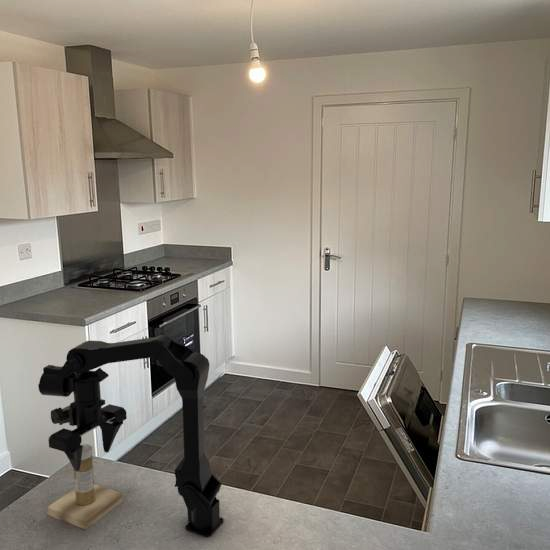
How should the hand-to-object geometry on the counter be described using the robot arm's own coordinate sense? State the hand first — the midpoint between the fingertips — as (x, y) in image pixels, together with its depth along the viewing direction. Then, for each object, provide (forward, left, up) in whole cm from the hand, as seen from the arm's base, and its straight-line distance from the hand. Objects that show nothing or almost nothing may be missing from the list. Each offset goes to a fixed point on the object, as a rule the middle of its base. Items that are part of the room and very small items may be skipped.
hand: (92, 461), depth 125 cm
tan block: (+3, 0, -13) cm, 13 cm away
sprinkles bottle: (+3, 0, -11) cm, 11 cm away
